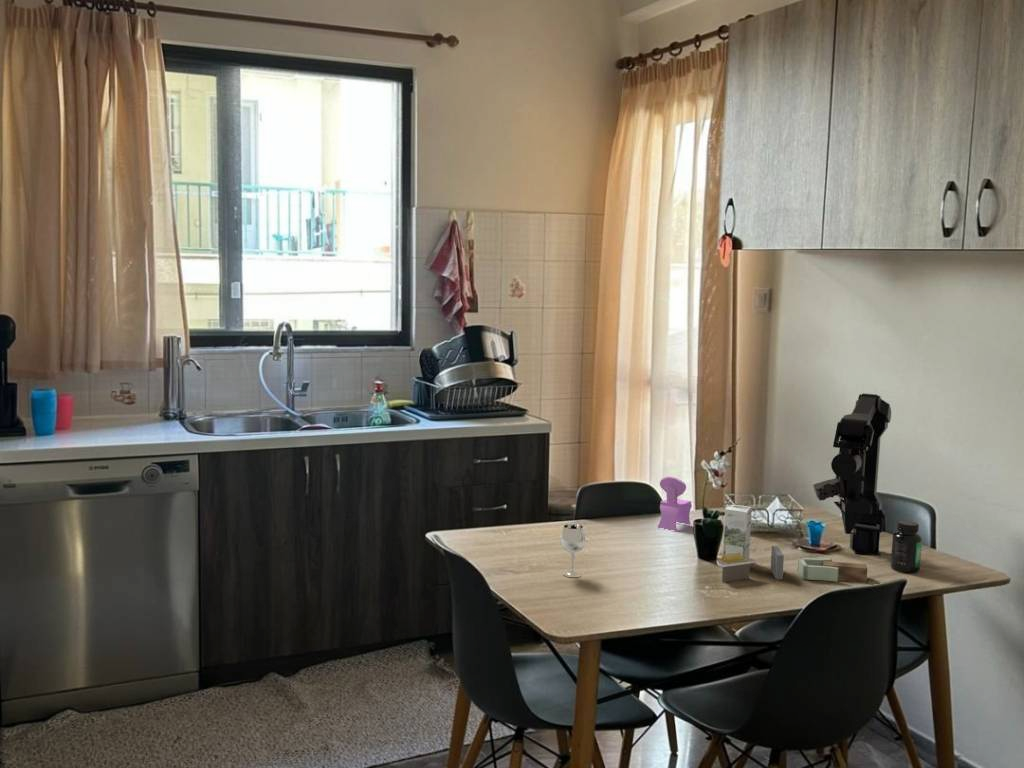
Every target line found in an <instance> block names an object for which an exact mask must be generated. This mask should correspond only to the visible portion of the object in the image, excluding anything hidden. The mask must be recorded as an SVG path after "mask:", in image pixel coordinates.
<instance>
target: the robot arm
mask: <svg viewBox="0 0 1024 768" xmlns="http://www.w3.org/2000/svg"><path fill="white" fill-rule="evenodd" d="M890 405H891V404H890V403H889V402H887V401H885V400H883V399H882V396H881V395H878V394H875V393H873V394H872V393H862V394H861V393H860V394H859V395H858V398H857V400H855V406H854V408H853V410H852V412H851V413H849V414H845V415H843V417H841V418H840V421H838V422H837V424H836V430H835V435H834V440H833V445H832V447H833V448H835V449H836V448H837V449H838V448H839V451H838V453H837V454H836V455H835V456H833V458H832V460H831V461H830V462H831V468H830V469H831V470H832V472H833V473H834V474H835V477H834V478H832V479H827V480H823V481H820V482H817V483H814V484H813V485H812V486H813V490H814V492H815V497H816V498H817V499H818V500H819V501H825V500H827V499H829V498H834V497H837V501H834V503H833V504H834V505H835V506H836V507H837V508H838V509H839V510H840V513H841V517H842V522H843V528H844V533H845V534H846V535H850V540H849V548H850V549H851V550H852V551H853V553H855V554H856V555H857V554H858V555H881V551H880V550H879V549H880V535H881V533H885V532H887V517H886V516H887V515H886V514H885V511H884V509H883V501H882V499H881V498H880V496H879V494H878V491H877V489H878V479H879V478H878V477H879V476H878V475H879V464H880V449H881V438H882V436H883V434H884V433H885V432H886V431H887V429H888V426H889V424H890V423H891V419H892V409H891V408H892V407H891V406H890Z"/></svg>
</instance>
